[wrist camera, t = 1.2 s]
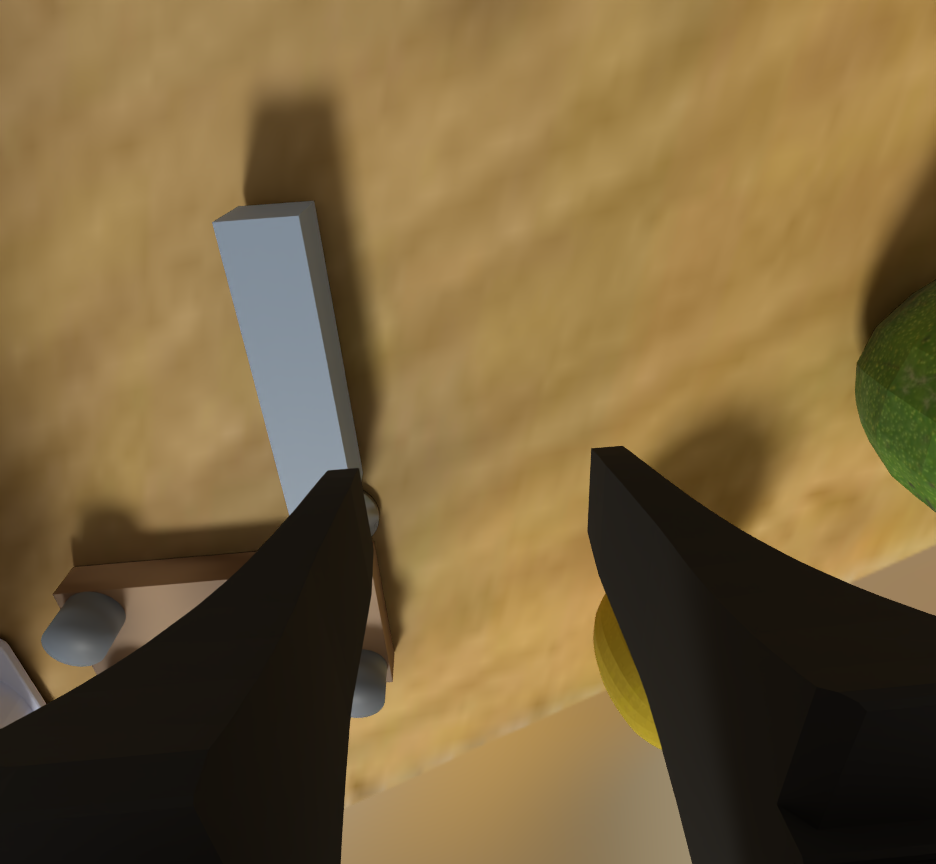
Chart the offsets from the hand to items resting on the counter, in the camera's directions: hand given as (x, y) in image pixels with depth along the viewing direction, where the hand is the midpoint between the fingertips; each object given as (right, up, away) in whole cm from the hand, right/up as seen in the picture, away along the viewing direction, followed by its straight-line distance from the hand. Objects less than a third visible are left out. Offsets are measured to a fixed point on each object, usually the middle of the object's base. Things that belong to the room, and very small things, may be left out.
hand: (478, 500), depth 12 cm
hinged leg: (-5, +3, +8) cm, 10 cm away
